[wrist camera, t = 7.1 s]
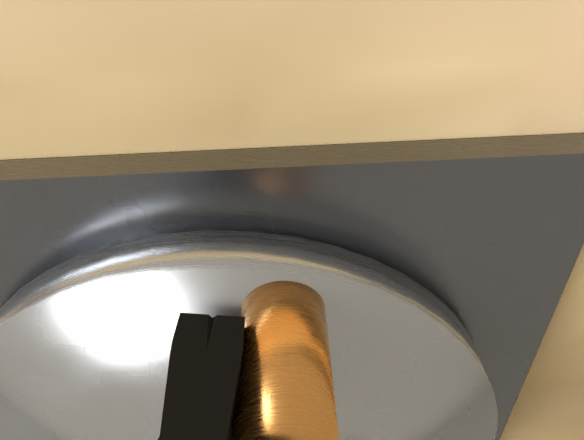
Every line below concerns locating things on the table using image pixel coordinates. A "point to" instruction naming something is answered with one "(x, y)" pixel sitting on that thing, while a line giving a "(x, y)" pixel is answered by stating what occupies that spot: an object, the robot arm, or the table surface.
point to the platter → (256, 347)
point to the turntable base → (338, 219)
